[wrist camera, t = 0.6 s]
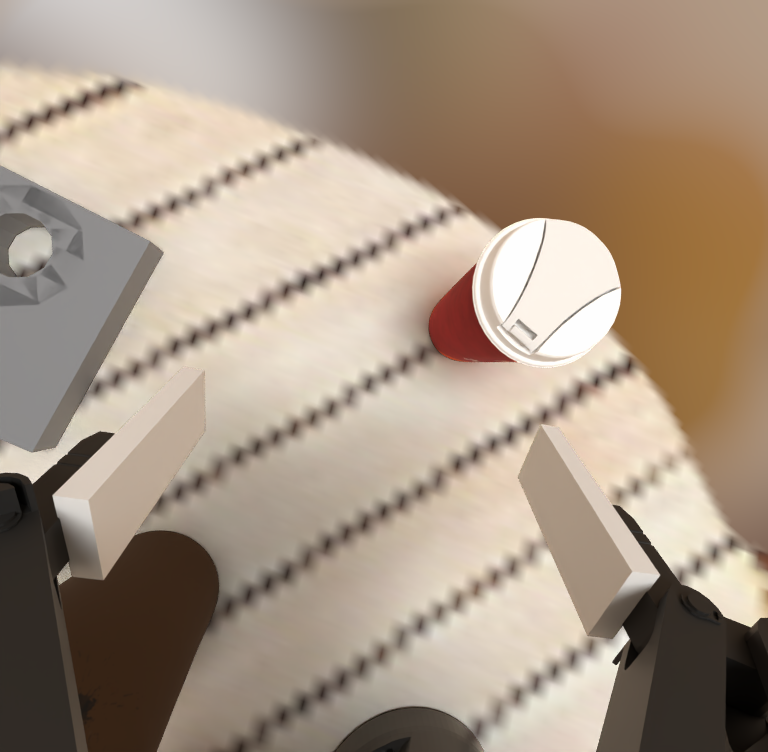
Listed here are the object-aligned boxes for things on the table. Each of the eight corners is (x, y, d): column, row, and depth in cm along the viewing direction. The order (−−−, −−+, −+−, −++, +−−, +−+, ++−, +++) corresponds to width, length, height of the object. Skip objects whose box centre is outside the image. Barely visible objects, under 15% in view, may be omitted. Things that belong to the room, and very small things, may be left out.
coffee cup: (468, 393, 36) (571, 399, 21) (396, 333, 35) (450, 295, 20) (523, 320, 36) (660, 276, 22) (454, 260, 36) (547, 172, 21)
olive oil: (102, 510, 31) (-764, 1000, 6) (241, 534, 33) (-19, 1007, 8) (66, 650, 30) (-1040, 1787, 6) (209, 667, 32) (-181, 1635, 7)
